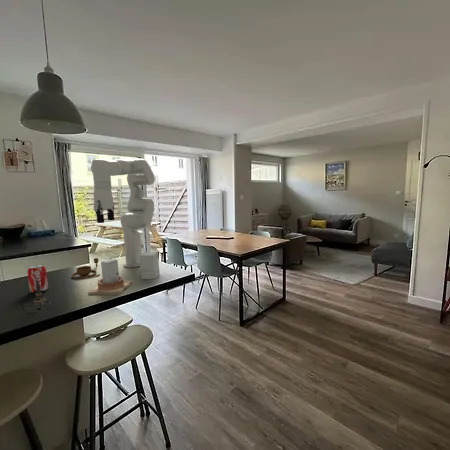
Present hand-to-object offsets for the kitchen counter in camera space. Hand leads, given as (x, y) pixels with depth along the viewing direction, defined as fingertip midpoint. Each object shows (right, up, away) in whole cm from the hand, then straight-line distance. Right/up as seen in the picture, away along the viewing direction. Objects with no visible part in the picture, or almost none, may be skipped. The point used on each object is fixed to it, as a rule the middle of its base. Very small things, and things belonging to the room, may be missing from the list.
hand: (106, 221), depth 129 cm
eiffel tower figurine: (-17, -35, -22) cm, 45 cm away
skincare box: (+5, -30, -6) cm, 31 cm away
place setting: (-16, -29, +18) cm, 38 cm away
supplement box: (+19, -29, +9) cm, 36 cm away
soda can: (-28, -33, -6) cm, 43 cm away
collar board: (+5, -31, -6) cm, 32 cm away
